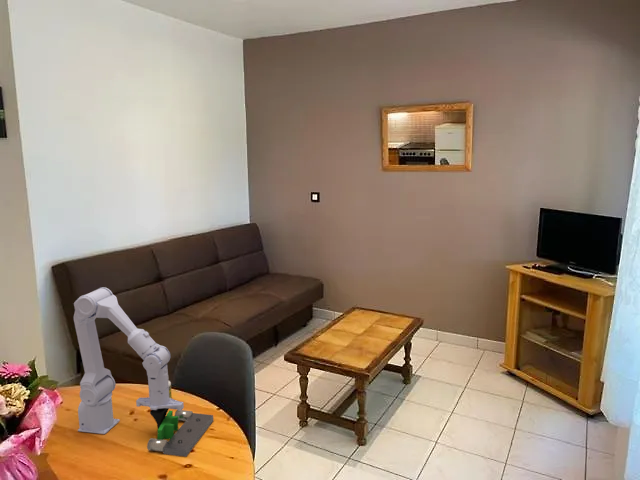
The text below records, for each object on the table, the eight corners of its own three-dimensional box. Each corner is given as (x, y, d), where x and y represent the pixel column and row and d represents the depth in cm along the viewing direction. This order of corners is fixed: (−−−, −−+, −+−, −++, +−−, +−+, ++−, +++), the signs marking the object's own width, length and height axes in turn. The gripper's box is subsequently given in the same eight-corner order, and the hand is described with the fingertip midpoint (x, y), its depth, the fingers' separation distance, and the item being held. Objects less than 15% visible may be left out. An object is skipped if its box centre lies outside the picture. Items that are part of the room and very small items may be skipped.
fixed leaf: (147, 452, 141) (146, 442, 140) (179, 416, 160) (178, 407, 159) (185, 457, 139) (185, 446, 138) (213, 420, 157) (213, 411, 157)
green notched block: (169, 445, 145) (170, 431, 144) (157, 444, 144) (157, 430, 144) (180, 424, 156) (181, 410, 155) (168, 423, 155) (169, 410, 155)
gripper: (129, 391, 145) (132, 433, 148) (174, 396, 142) (177, 439, 145) (142, 380, 152) (145, 421, 154) (185, 385, 149) (188, 426, 152)
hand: (161, 429), depth 150 cm, fingers closed, pressing on green notched block
